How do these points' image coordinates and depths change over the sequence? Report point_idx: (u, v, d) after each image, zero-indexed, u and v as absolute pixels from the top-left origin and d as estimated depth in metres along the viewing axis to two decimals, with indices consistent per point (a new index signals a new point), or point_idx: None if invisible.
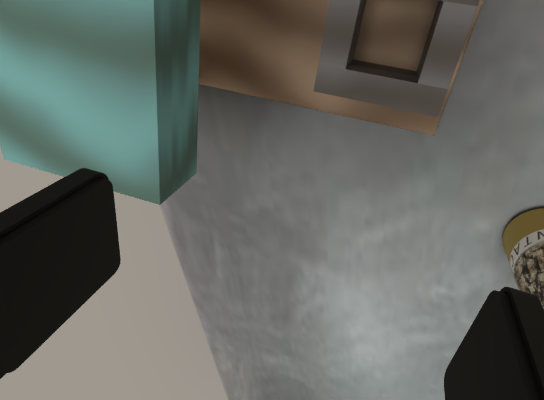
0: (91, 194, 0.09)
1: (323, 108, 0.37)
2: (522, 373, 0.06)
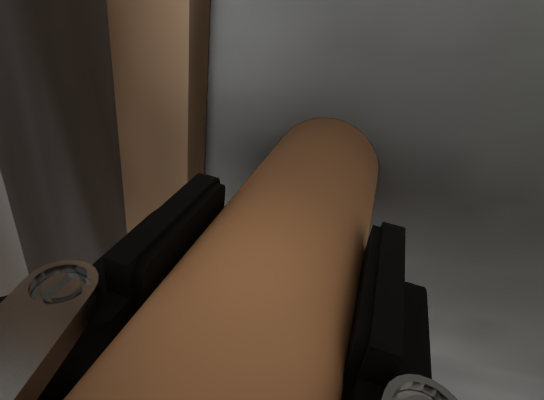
0: (213, 198, 0.09)
1: None
2: (367, 276, 0.07)
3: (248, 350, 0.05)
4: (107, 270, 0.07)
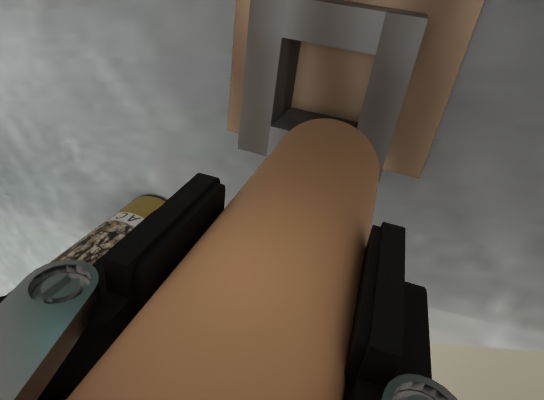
0: (213, 198, 0.09)
1: None
2: (367, 276, 0.07)
3: (249, 351, 0.05)
4: (107, 270, 0.07)
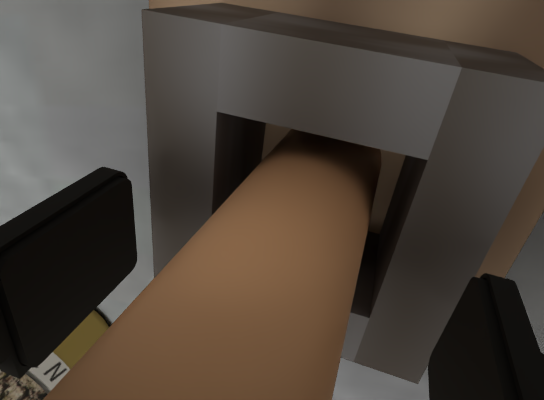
0: (112, 193, 0.09)
1: (155, 3, 0.15)
2: (494, 351, 0.06)
3: (260, 297, 0.06)
4: None
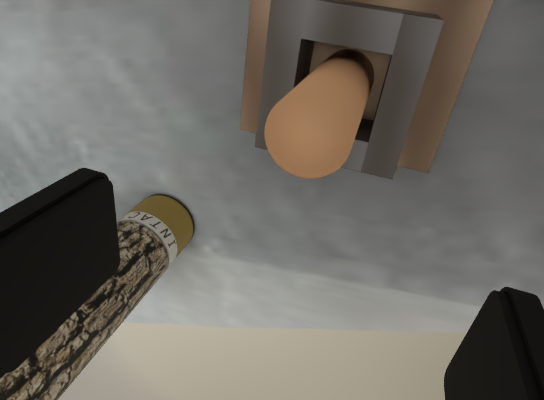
0: (91, 194, 0.09)
1: None
2: (522, 373, 0.06)
3: (339, 78, 0.19)
4: None
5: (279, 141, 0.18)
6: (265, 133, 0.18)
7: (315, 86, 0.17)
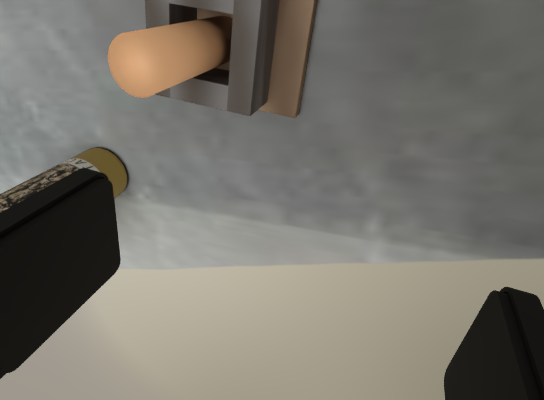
0: (91, 194, 0.09)
1: None
2: (522, 373, 0.06)
3: (172, 28, 0.27)
4: None
5: (119, 70, 0.25)
6: (109, 64, 0.25)
7: (140, 30, 0.24)
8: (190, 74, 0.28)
